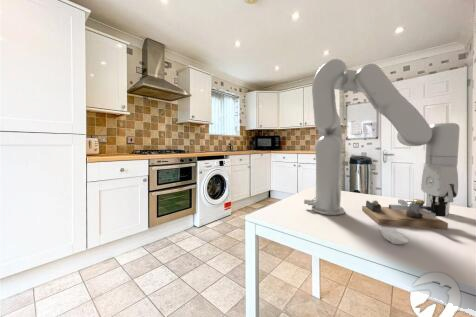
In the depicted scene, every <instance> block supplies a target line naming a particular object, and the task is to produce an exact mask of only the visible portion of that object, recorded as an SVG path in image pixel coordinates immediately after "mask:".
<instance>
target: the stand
mask: <svg viewBox="0 0 476 317" xmlns="http://www.w3.org/2000/svg"><path fill="white" fill-rule="evenodd" d="M361 208H362V210H361V211H362V212H363V213H364V214H365V215H367V216H368V217H369V218H370V219H371V220H372V221H374V222H375V223H376V224H377V225H380V226H396V227H407V228H408V227H410V228H422V229H424V228H425V229H426V228H427V229H439V230H448V227H449V223H448V222H446V221H444V220H443V219H440V218H438V217H437V216H436V217H435V218H430V217H428V216H425V215H423V218H422V219H415V218H410V217H408V216H406V210H391V209H389V206H382V205H381V204H380V203H379V202H378V201H377V200H376V199H373V200H372V201H369V200H366V202H365V205H362V206H361Z"/></svg>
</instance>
